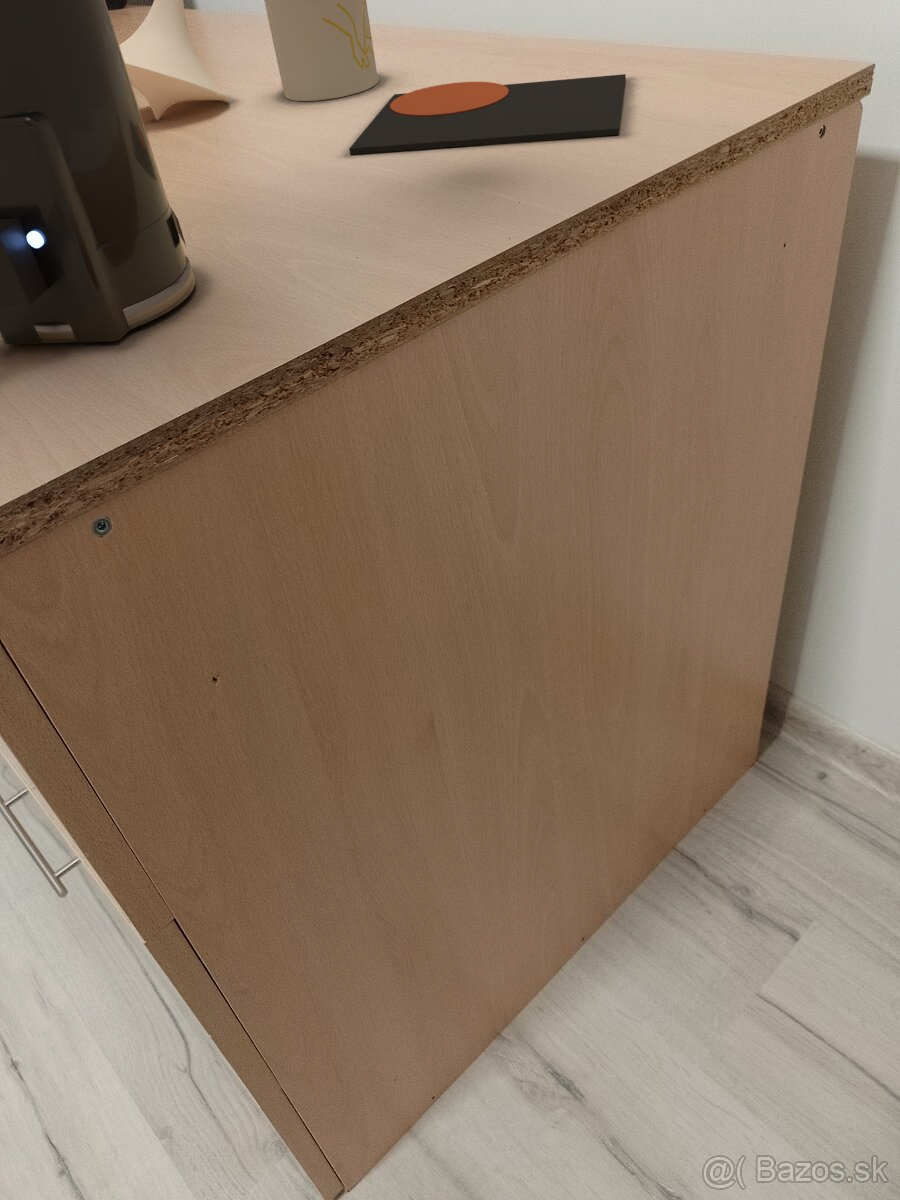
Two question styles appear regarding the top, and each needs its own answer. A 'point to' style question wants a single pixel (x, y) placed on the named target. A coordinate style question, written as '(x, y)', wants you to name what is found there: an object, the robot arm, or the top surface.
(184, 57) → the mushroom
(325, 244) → the top surface
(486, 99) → the placemat
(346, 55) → the cup
